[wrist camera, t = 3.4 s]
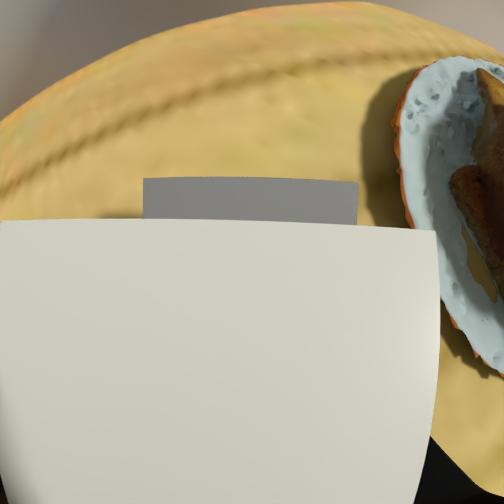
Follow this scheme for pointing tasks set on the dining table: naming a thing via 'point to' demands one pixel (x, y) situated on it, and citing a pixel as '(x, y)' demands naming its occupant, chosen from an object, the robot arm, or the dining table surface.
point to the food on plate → (458, 185)
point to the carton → (251, 199)
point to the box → (215, 361)
